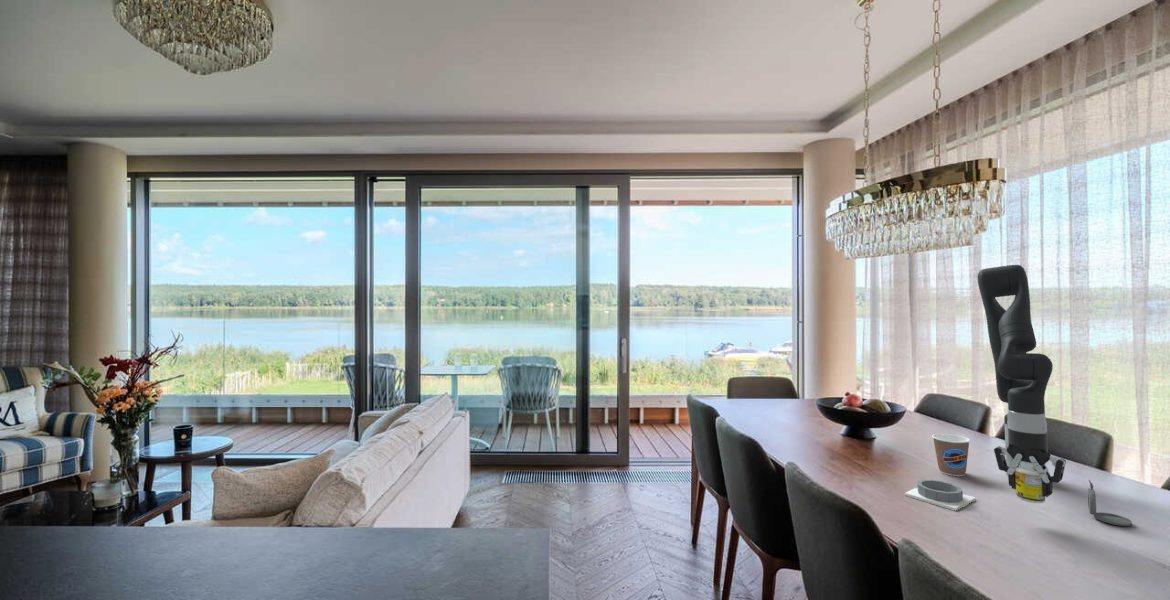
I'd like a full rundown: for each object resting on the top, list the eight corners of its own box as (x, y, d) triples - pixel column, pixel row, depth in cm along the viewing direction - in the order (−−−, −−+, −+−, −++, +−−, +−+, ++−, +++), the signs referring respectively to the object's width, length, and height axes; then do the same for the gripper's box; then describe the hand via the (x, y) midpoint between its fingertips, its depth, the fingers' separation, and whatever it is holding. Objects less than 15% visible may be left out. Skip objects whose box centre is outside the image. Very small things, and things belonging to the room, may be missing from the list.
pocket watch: (1140, 528, 117) (1138, 489, 117) (1100, 526, 118) (1098, 487, 119) (1110, 514, 125) (1108, 477, 125) (1073, 512, 126) (1072, 475, 127)
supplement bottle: (1015, 493, 125) (1013, 456, 125) (1043, 498, 122) (1042, 459, 122) (1017, 500, 121) (1015, 462, 121) (1046, 506, 117) (1044, 466, 117)
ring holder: (925, 486, 147) (924, 475, 147) (975, 500, 135) (975, 488, 135) (904, 495, 140) (904, 483, 140) (956, 511, 129) (955, 498, 129)
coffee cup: (939, 476, 155) (937, 440, 155) (929, 466, 164) (927, 432, 164) (977, 479, 151) (975, 443, 151) (964, 469, 160) (963, 434, 161)
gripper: (1070, 431, 117) (1073, 497, 117) (997, 420, 129) (1000, 480, 129) (1060, 437, 113) (1063, 505, 113) (987, 425, 126) (989, 486, 125)
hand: (1030, 491), depth 121 cm, fingers closed on supplement bottle, 5 cm apart
